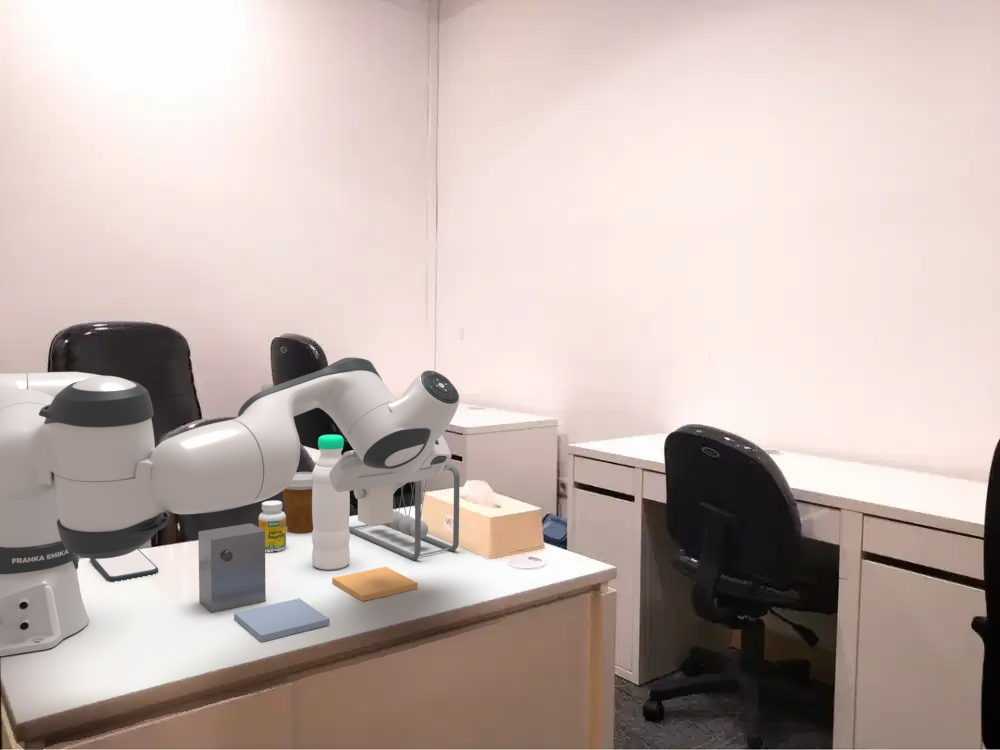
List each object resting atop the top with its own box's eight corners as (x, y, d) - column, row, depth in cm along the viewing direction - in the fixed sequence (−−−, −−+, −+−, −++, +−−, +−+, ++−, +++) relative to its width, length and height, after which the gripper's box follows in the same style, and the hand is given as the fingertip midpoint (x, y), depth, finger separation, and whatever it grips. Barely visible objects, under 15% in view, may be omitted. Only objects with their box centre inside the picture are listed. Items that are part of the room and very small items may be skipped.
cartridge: (370, 526, 141) (370, 474, 140) (357, 520, 145) (357, 470, 144) (393, 522, 144) (393, 471, 143) (380, 516, 148) (380, 467, 147)
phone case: (160, 577, 150) (137, 553, 163) (160, 568, 150) (136, 546, 163) (108, 587, 145) (88, 562, 157) (108, 578, 145) (88, 553, 157)
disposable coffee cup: (284, 537, 174) (283, 482, 173) (276, 526, 183) (275, 473, 182) (328, 532, 178) (328, 478, 177) (318, 521, 187) (318, 470, 186)
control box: (213, 614, 131) (211, 540, 130) (198, 601, 137) (197, 530, 136) (267, 602, 137) (266, 531, 136) (251, 590, 142) (250, 522, 141)
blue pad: (261, 642, 121) (261, 635, 121) (234, 618, 129) (234, 612, 129) (329, 625, 128) (329, 618, 128) (299, 604, 136) (299, 598, 136)
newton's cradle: (459, 553, 166) (460, 466, 164) (416, 563, 159) (417, 473, 157) (380, 521, 188) (381, 445, 187) (340, 529, 182) (340, 450, 180)
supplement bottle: (278, 543, 170) (277, 498, 169) (291, 549, 166) (291, 503, 165) (253, 548, 166) (253, 502, 165) (267, 554, 162) (266, 507, 161)
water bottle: (354, 560, 160) (354, 433, 158) (343, 571, 153) (343, 439, 151) (318, 558, 160) (318, 432, 158) (306, 570, 154) (306, 438, 151)
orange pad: (362, 601, 138) (362, 595, 138) (332, 583, 146) (332, 577, 146) (417, 588, 145) (417, 582, 145) (385, 571, 153) (385, 566, 153)
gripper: (353, 468, 128) (325, 516, 137) (459, 455, 141) (428, 500, 149) (339, 436, 131) (313, 485, 140) (445, 426, 144) (415, 472, 152)
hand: (373, 493), depth 144 cm, fingers closed on cartridge, 4 cm apart
